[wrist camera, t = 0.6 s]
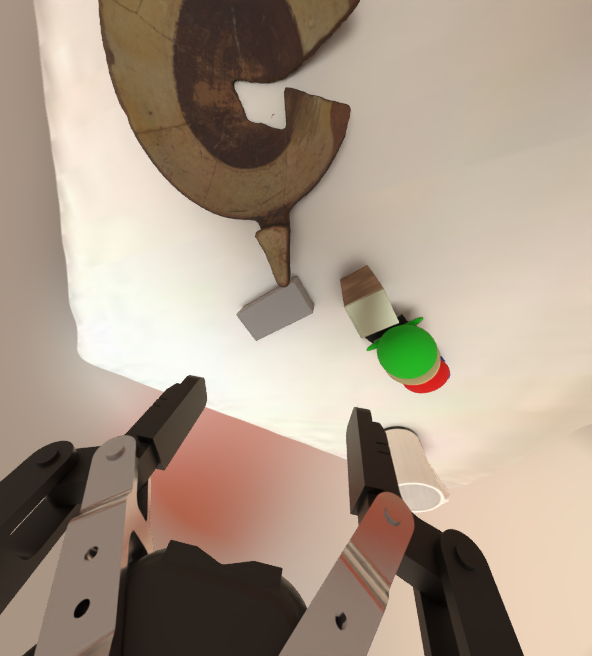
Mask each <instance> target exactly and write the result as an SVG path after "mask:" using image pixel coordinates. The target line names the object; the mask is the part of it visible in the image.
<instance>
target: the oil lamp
mask: <svg viewBox="0 0 592 656" xmlns="http://www.w3.org/2000/svg"><path fill="white" fill-rule="evenodd" d="M98 1H99V17H100V26H101V35H102V41H103V47H104V50H105V53H106V61H107V64H108V69H109V74H110V77H111V80H112V83H113V87H114V89H115V93H116V95H117V98H118V101H119V103H120V105H121V107H122V109H123V110H124V112H125V114H126V115H127V117H128V121H129V124H130V126H131V129H132V130H133V132H134V134H135V137H136V138H137V140H138V141H139V143H140V145H141V146H142V148H143V149H144V151H145V152H146V154H147V155H148V157H149V158H150V160H151V161H152V163H153V164H154V165H155V166H156V167H157V169H158V170H159V172H160V173H161V174H162V175H163V176H164V177H165V178H166V179H167V180H168V181H169V182H170V183H171V185H172V186H174V187H175V188H176V189H177V190H178V191H179V192H181V193H182V194H183V195H184V196H185V197H187V198H188V199H190V200H191V201H192V202H194V203H196V204H197V205H199V206H200V207H202V208H204V209H205V210H208V211H210V212H212V213H214V214H217V215H219V216H222V217H227V218H232V219H241V220H255V221H256V222H258V223H259V225H260V228H261V230H259V231H257V232H256V235H255V237H256V238H257V240H258V242H259V244H260V245H261V247H262V249H263V250H264V253H265V254H266V256H267V259H268V262H269V264H270V266H271V269H272V272H273V275H274V277H275V280H276V282H277V283H278V285H279V286H280V287H282V288H285V287H287V286H288V285H289V284H290V221H289V213H290V211H291V209H292V207H293V206H294V205H295V204H296V203H297V202H298V201H299V200H301V199H302V198H303V197H305V196H306V195H307V194H308V193H309V192H310V191H311V190H312V189H313V188H314V187H315V186H316V185H317V184H318V183H319V181H320V180H321V178H322V177H323V176H324V174H325V173H326V171H327V170H328V168H329V167H330V165H331V163H332V162H333V160H334V158H335V156H336V154H337V152H338V151H339V148H340V146H341V144H342V142H343V140H344V138H345V134H346V129H347V124H348V121H349V118H350V111H351V109H350V106H349V105H347V104H343V103H339V102H336V101H330V100H327V99H324V98H322V97H319V96H315V95H310V94H307V93H305V92H303V91H300V90H297V89H294V88H285V91H284V98H285V111H286V127H285V129H282V130H280V129H276V128H272V127H270V126H267V125H266V124H262V123H254V122H251V121H249V120H248V119H247V117H246V115H245V113H244V109H243V107H242V105H241V102H240V100H239V98H238V95H237V93H236V92H235V90H234V86H233V83H234V81H235V80H245V81H250V82H259V83H263V82H265V83H270V82H275V81H276V80H280V79H283V78H286V77H287V76H288V75H289V74H290V73H292V72H294V71H296V70H297V69H298V67H299V66H301V65H302V63H303V62H304V61H305V60H308V59H309V57H311V56H312V55H313V54H314V53H315V52H316V50H317V49H318V48H319V47H320V45H321V44H322V43H324V42H325V41H326V40H327V39H328V38H329V37H330V36H332V34H333V33H334V32H335V30H336V29H337V28H338V27H340V25H341V24H342V22H344V21H345V20H346V19H347V18H348V16H349V15H350V14H351V13H352V12H353V11H354V9H355V8H356V7H357V5H358V3H359V2H360V0H98ZM273 115H274V114H272V116H273ZM271 118H272V117H271Z"/></svg>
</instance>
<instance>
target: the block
mask: <svg viewBox="0 0 592 656" xmlns="http://www.w3.org/2000/svg"><path fill="white" fill-rule="evenodd" d="M340 282H341V288H342V295H343V301H344V308H345V309H346V311H347V313H348V315H349V317H350V319H351V320H352V322H353V324H354V326H355V328H356V330H357V332H358V333H359V335H360V337H361V338H363V337H366V336H368V335H371V334H373V333H376V332H378V331H380V330H383V329H385V328H388V327H390V326H392V325H395V324H397V323H399V321H398V319H397V317H396V314H395V312H394V310H393V308H392V306H391V303H390V301H389V299H388V297H387V294H386V292H385V290H384V288H383V287H382V285H381V284H380V282H379V281H378V280H377V278H376V277H375V275H374V274H373V272H372V271H371V270H370V268H369V267H368V265H367V266H366V267H364V268H362V269H360V270H358V271H356V272H354V273H352V274H350V275H349V276H347V277H345V278H343V279H341V280H340Z"/></svg>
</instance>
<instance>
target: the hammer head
mask: <svg viewBox="0 0 592 656" xmlns="http://www.w3.org/2000/svg"><path fill="white" fill-rule="evenodd" d="M313 309H314V304H313V302H312V300H311V299H310V297H309V295H308V294H307V292H306V290H305V289H304V287H303V285H302V284H301V282H300V280H299V279H298V277H297V276H296V277H294V278H292V279H291V280H290V284H289V285H288V286H287V287H285V288H282V287H280V286H279V287H277V288H275V289H273V290H272V291H270V292H268V293H267V294H265V295H263V296H261V297H260V298H258V299H256V300H254V301H253V302H251V303H249V304H248V305H246V306H244V307H243V308H242V309H241V310H240V311H239V312H238V313H237V316H238V318H239V319H240V320H241V322H242V323H243V324H244V326H245V327H246V328H247V330H248V331H249V332H250V334H251V335H252V336H253V338H254V339H255V340H256V341H257V340H259V339H261V338H263V337H265V336H267V335H269V334H271V333H273V332H275V331H277V330H279V329H281V328H283V327H285V326H288V325H290V324H292V323H294V322H296V321H298V320H300V319H302V318H304V317H306V316H308V315H310V314H312V313H313Z"/></svg>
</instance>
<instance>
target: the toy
mask: <svg viewBox="0 0 592 656" xmlns="http://www.w3.org/2000/svg"><path fill="white" fill-rule="evenodd" d="M397 319H398V321H399V323H397V324H395V325H392V326H390V327H388V328H385V329H383V330H380V331H378V332H376V333H373V334H371V335H368V336H366V337H365V338H366V339H368V340H369V341H370V342H372V343H373V344H372V345H370V346H369V347H368V348H367V351H370V350H373V349H376V348H377V355H378V359H379V362H380V364H381V365H382V367H383V368H384V369H385V370H386V372H387V373H388V375H389V376H390V377H391V378H393V379H394V380H396V381H397V382H400V383H402V384H403V385H404V386H405V387H406V388H407V389H408V390H410V391H412V392H415V393H428V392H432V391H435V390H437V389H438V388H440V387H441V386H443V385H444V384H445V383H446V381H447V380H448V379H449V377H450V370H449V367H448V366H447V364H446V363H445V360H444V359H443V358H442V356H441V357H440V353H439V351H438V348H437V345H436V342H435V341H434V339H433V338H432V336H431V335H430V334H429V333H428V332H426V331H425V330H423V329H422V328H419V327H417V326H416V325H417V324H418V323H420V322H421V321H422V320H423V317H420V318H417V319H414V320H412V321H410V322H408V321H407V320H406V319H405V317H404V316H403V315H402V314H401V315H400V316H398V317H397Z"/></svg>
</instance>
